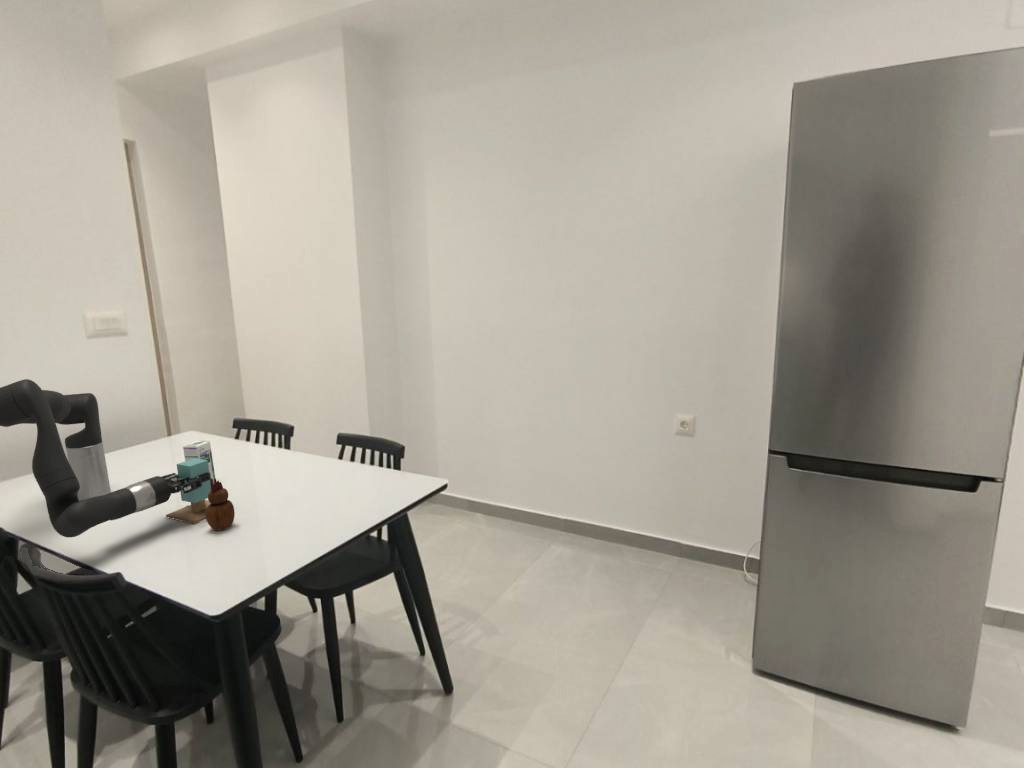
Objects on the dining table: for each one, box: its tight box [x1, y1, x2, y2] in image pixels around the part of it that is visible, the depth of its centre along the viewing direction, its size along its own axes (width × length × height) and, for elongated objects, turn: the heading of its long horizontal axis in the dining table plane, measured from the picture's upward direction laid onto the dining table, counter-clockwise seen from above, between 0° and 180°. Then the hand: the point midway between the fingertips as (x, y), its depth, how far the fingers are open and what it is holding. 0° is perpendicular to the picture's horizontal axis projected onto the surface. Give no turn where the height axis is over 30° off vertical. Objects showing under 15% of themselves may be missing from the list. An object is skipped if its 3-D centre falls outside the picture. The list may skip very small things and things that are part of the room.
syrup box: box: [182, 440, 216, 483], centre depth 185 cm, size 6×6×14 cm
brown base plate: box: [165, 499, 211, 525], centre depth 163 cm, size 12×12×8 cm
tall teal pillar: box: [176, 458, 211, 504], centre depth 162 cm, size 6×6×11 cm
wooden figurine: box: [205, 477, 235, 532], centre depth 152 cm, size 7×6×15 cm
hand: (202, 474), depth 164 cm, fingers closed on tall teal pillar, 5 cm apart
